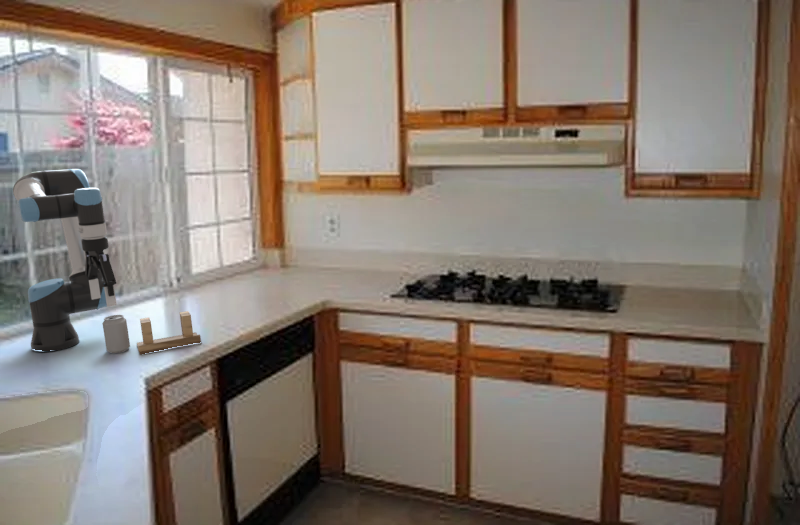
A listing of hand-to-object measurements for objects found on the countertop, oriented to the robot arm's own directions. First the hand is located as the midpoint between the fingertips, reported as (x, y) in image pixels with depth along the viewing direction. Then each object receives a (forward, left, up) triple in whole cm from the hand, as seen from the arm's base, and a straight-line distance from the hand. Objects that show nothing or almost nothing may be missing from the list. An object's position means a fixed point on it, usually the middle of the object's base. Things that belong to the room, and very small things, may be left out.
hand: (103, 302), depth 208 cm
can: (-9, +2, -20) cm, 21 cm away
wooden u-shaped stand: (-5, +18, -19) cm, 27 cm away
